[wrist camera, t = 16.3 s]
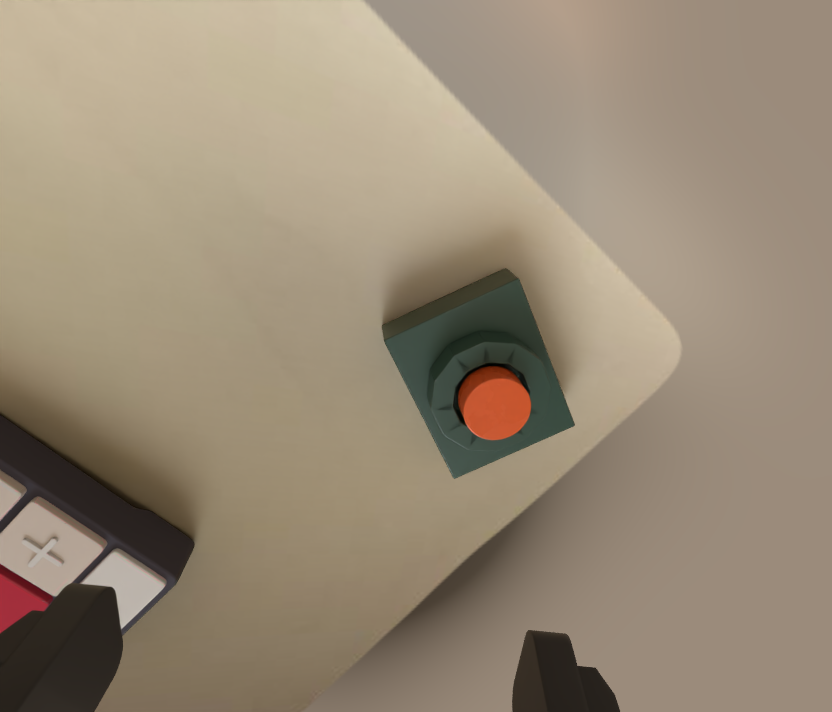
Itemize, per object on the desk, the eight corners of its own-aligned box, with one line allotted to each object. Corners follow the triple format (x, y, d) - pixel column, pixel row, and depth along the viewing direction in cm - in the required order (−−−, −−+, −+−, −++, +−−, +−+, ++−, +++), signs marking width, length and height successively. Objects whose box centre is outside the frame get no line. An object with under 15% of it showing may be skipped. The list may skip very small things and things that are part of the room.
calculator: (-65, 430, 28) (176, 590, 32) (-10, 397, 32) (198, 542, 37) (-177, 562, 30) (64, 697, 34) (-112, 515, 34) (97, 641, 39)
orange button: (508, 354, 30) (517, 366, 28) (531, 408, 31) (540, 423, 29) (447, 382, 30) (452, 396, 28) (472, 434, 31) (478, 451, 30)
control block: (506, 267, 32) (528, 286, 28) (560, 406, 36) (587, 441, 32) (381, 325, 33) (385, 352, 29) (447, 456, 36) (459, 497, 32)
